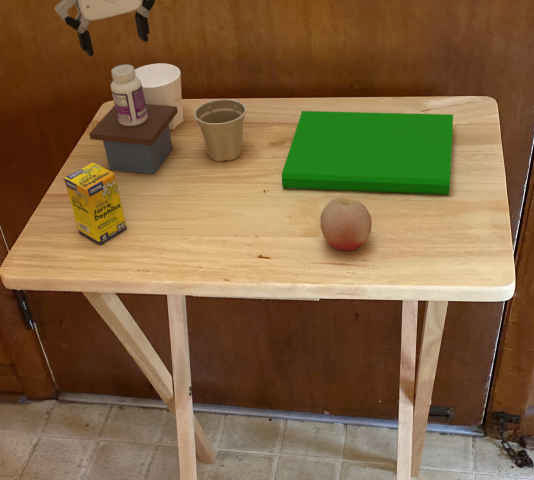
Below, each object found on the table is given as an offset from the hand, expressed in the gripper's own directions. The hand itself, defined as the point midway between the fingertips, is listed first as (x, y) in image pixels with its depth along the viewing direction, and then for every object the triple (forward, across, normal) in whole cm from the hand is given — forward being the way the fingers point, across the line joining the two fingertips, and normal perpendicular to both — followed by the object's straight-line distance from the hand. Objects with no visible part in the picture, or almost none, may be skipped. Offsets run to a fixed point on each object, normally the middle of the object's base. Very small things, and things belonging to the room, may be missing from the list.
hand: (116, 46), depth 137 cm
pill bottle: (+14, 0, 0) cm, 14 cm away
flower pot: (+22, +15, -7) cm, 27 cm away
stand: (+22, +1, 0) cm, 22 cm away
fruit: (+22, +19, -43) cm, 52 cm away
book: (+22, +36, -24) cm, 48 cm away
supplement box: (+23, -13, -18) cm, 32 cm away
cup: (+22, +9, +11) cm, 26 cm away
